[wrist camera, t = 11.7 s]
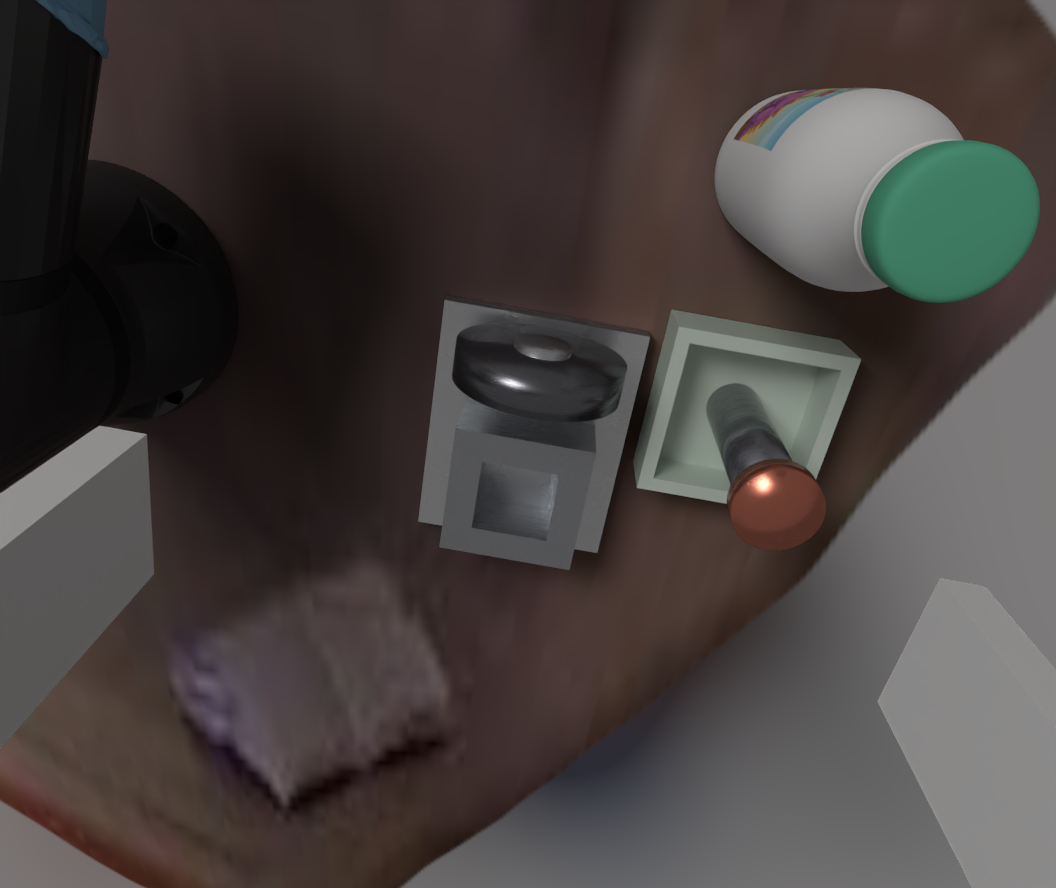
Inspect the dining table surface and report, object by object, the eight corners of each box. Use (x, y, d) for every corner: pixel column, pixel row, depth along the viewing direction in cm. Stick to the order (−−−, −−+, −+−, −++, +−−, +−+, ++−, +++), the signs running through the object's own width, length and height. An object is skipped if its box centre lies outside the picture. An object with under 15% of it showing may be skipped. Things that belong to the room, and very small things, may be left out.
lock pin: (689, 433, 45) (720, 541, 34) (707, 369, 44) (745, 463, 33) (757, 445, 45) (808, 557, 34) (777, 382, 44) (839, 479, 33)
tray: (633, 461, 47) (636, 487, 44) (671, 309, 43) (679, 326, 40) (786, 488, 47) (801, 517, 44) (840, 340, 43) (861, 359, 40)
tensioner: (421, 512, 50) (385, 605, 40) (448, 294, 43) (412, 346, 34) (596, 543, 50) (600, 643, 41) (648, 331, 43) (667, 392, 34)
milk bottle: (834, 254, 41) (1035, 374, 23) (697, 233, 41) (789, 336, 23) (881, 102, 38) (1160, 102, 20) (732, 79, 38) (873, 58, 20)
